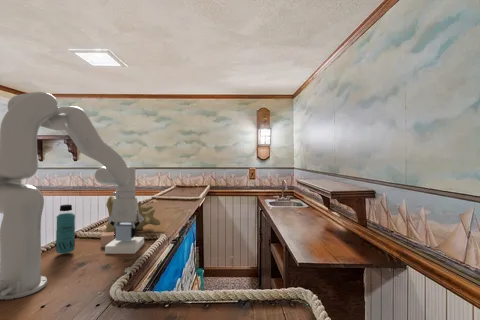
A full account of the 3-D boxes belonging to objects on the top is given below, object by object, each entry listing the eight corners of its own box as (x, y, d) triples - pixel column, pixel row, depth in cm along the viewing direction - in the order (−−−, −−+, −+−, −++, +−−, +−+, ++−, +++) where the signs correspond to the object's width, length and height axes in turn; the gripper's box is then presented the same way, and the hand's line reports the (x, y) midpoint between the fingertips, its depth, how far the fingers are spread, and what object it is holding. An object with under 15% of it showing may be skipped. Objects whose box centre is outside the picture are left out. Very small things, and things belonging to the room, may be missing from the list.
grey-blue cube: (130, 240, 112) (130, 226, 112) (115, 240, 112) (115, 226, 112) (135, 236, 118) (135, 222, 118) (121, 236, 118) (121, 222, 118)
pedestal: (134, 253, 110) (134, 246, 110) (104, 253, 109) (105, 246, 109) (144, 243, 122) (144, 237, 122) (117, 243, 121) (117, 236, 121)
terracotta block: (113, 246, 118) (113, 235, 118) (100, 247, 116) (100, 236, 116) (114, 242, 122) (114, 231, 122) (102, 243, 121) (102, 232, 120)
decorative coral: (81, 211, 131) (122, 177, 145) (104, 236, 145) (139, 203, 159) (111, 233, 118) (153, 193, 131) (133, 257, 132) (168, 219, 146)
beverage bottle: (52, 255, 106) (52, 205, 106) (69, 250, 112) (69, 202, 111) (61, 258, 103) (61, 207, 103) (78, 253, 109) (78, 204, 108)
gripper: (101, 196, 111) (100, 239, 111) (143, 196, 111) (143, 239, 112) (109, 193, 118) (109, 233, 119) (148, 193, 119) (148, 234, 119)
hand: (125, 236), depth 115 cm, fingers closed on grey-blue cube, 6 cm apart
